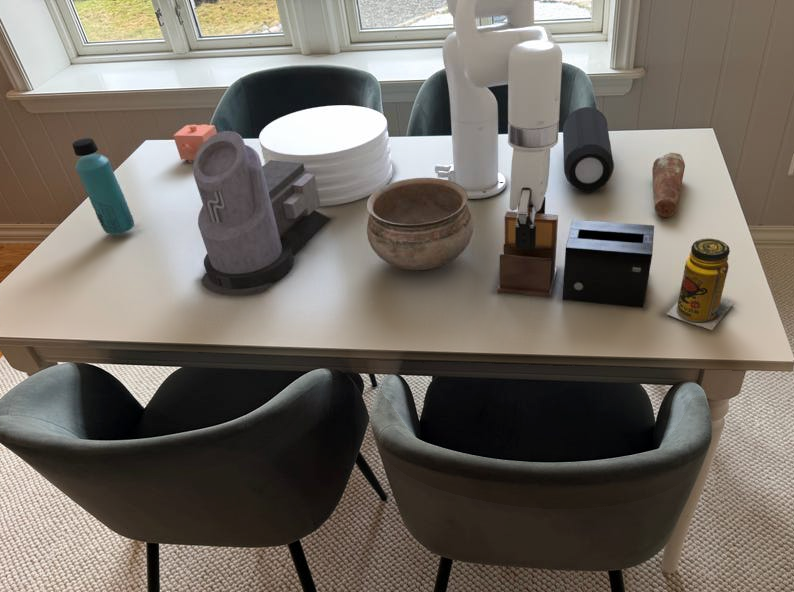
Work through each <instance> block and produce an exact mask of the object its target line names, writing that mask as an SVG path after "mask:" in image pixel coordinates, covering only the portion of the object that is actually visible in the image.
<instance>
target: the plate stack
mask: <svg viewBox="0 0 794 592" xmlns="http://www.w3.org/2000/svg"><path fill="white" fill-rule="evenodd" d="M258 141H259V145H260V148H261V153H262V158H263V159H264V165H265V164H266V163H267V162H269V161H270V160H275V161H284V162H294V163H303V164H304V168H305V169H306V170H307V172H308V174H311V175H315V180H316V185H317V190H318V195H319V200H320V205H319V206H318V207H330V206H338V205H342V204H348V203H353V202H356V201H358V200H361V199H364V198H367V197H368V196H369V197H370V196H371V195H372V194H373V193H374V192H375V191H377V190H378V189H380V188H382V187H384V186H386V185H388V184H389V182H390V181H391V179H392V177H393V173H394V172H393V164H392V155H391V146H390V138H389V131H388V120H387V118H386V117H385V115H384V114H382V113H381V112H379V111H377V110H376V109H373V108H369V107H366V106H365V107H364V106H358V105H343V104H342V105H341V104H339V105H326V106H318V107H317V106H316V107H311V108H306V109H301V110H297V111H295V112H292V113H289V114H286V115H284V116H281V117H278V118H277V119H275V120H273V121H271V122H270V123H268V124H267V125H265V127H264V128H262V130H261V131H260V133H259V136H258Z"/></svg>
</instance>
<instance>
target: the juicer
mask: <svg viewBox="0 0 794 592" xmlns="http://www.w3.org/2000/svg"><path fill="white" fill-rule="evenodd" d="M192 175H193V178H194V181H195V185H196V187H197V190H198V194H199V196H200V200H201V203H202V206H201V209H200V210H199V213H198V218H197V226H198V229H199V232H200V236H201V238H202V241H203V244H204V247H205V250H206V255H205V257H204V258H203V267H204V269H205V273H204V274H203V276H202V278H201V279H200V281H201V284H202V286H204V288H205V289H206V290H208V291H209V292H211V293H213V294H217V295H221V296H227V297H244V296H245V297H246V296H251V295H252V296H253V295H257V294H261V293H265V292H266V291H267V290H268V289H269V288H270V286H271V285H274V284H275V283H277V282H279V281H280V280H282V279H284V277H287V275H288V274H289V273H290V272H291V270H292V269H293V267H294V264H295V258H294V257H295V256H296V255H297V254H298V253H299V252H300V251H301V250H302V248H304V247H305V246H306V244H308V242H310V240H312V239H313V237H315V235H317V234H318V232H319V231H320V230H322V229H323V228H324V226H326V224H328V222H329V221H330V220H331V218H329V217H328V216H326V215H325V214H323V213H321V212H319V211H317V210H316V209H317V208H318V207H320V206H319V205H320V200H319V195H318V190H317V185H316V180H315V175H311V174H308V172H307V170H306V169H305V168H304V164H303V163H294V162H284V161H275V160H270V161H269V162H267V163H266V164H265V163H264V164H263V165H262V161H261V157H260V155H259V153H258V151H257V150H255V148H253V147H251V146H250V145H247V144H245V141H244V138H243V137H242V136H241V135H240V134H239V133H237V132H236V131H232V130H223V131H219V132H217V134H215V135H213V136H212V137H210V138H209V139H208V140H206V142H205V143H204V144H203V145H202V146H201V147H200V149H199V150H198V152H197V154H196V157H195V159H194V162H192Z"/></svg>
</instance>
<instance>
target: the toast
mask: <svg viewBox="0 0 794 592" xmlns="http://www.w3.org/2000/svg"><path fill="white" fill-rule="evenodd" d="M517 212H518V211H506V212H505V215H504V244H515V226H516V220H517ZM531 214H532V213H528V217H530V219H531ZM534 226H536V246H540V247H552V248H554V259H553V277H554V274H555V267H556V260H557V244H558V243H557V241H558V227H559V214H553V213H552V214H551V213H545V214H539V213H536V216H535V223H534Z"/></svg>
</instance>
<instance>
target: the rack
mask: <svg viewBox="0 0 794 592" xmlns="http://www.w3.org/2000/svg"><path fill="white" fill-rule="evenodd" d="M498 256H499V259H498V260H499V283H498V285H497V289H496V292H497V293H501V294H512V295H520V296H521V295H522V296H531V297H539V298H540V297H541V298H551V296H552V292H553V289H554V284H555V280H556V277H557V273H558V266H555V274H554V277H553V259H554V248H552V247H540V246H535V248H534V249H525V248H517V247H516V246H515V244H505V243H503V254H502V253H501V254H500V253H499V255H498Z"/></svg>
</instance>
